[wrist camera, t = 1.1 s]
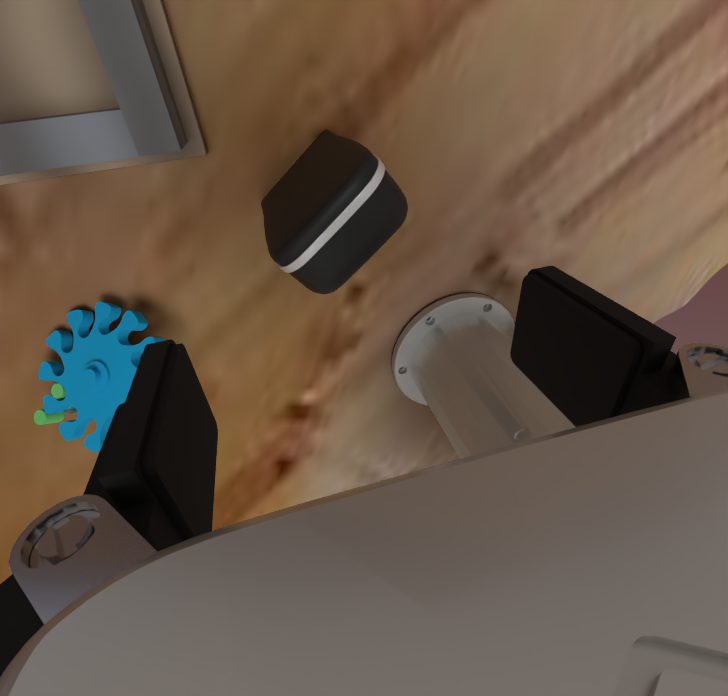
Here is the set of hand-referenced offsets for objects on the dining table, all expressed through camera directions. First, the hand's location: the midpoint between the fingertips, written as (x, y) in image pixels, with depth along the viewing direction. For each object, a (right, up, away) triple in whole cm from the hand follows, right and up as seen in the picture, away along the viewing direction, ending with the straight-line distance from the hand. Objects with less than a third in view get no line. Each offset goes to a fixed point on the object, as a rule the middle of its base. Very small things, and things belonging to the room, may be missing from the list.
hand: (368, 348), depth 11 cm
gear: (-19, 0, +19) cm, 27 cm away
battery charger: (-4, +11, +16) cm, 20 cm away
